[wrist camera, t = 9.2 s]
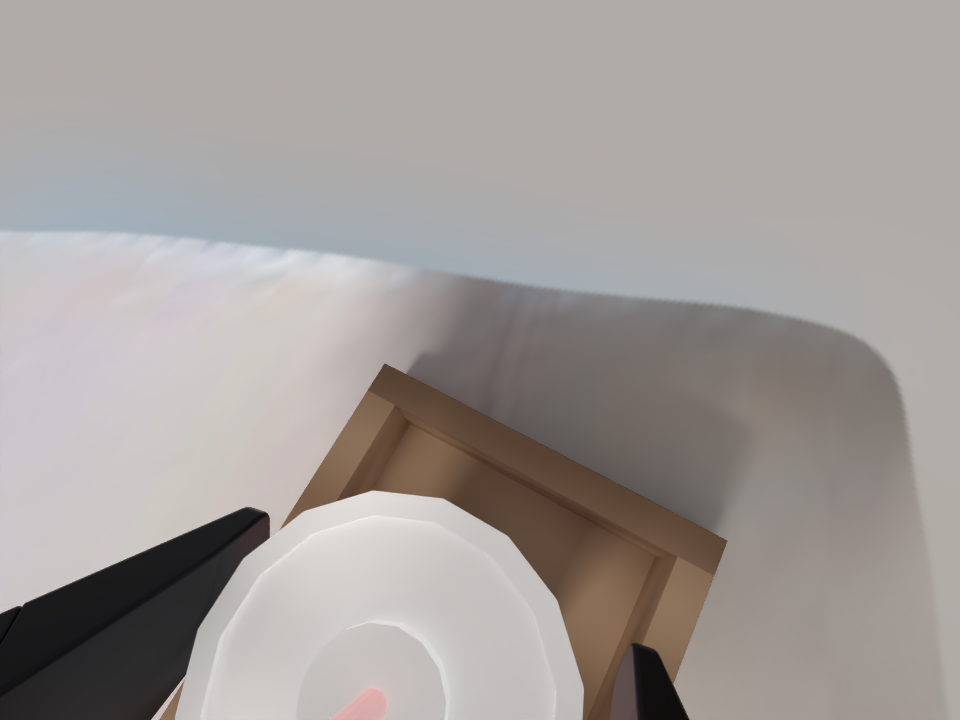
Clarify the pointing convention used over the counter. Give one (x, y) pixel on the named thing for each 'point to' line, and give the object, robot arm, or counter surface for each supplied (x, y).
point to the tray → (533, 522)
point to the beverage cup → (383, 623)
